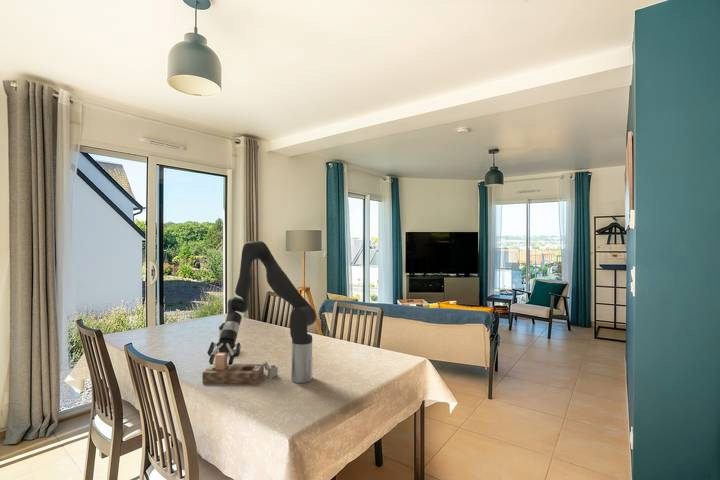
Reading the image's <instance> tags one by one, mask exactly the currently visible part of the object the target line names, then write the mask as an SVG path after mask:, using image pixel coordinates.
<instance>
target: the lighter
mask: <svg viewBox="0 0 720 480" xmlns="http://www.w3.org/2000/svg"><path fill="white" fill-rule="evenodd" d="M262 364H263V365H264V370H266V371H267V377H268V378H269V379H272V378H275V377H278V376H279V375H278V372H279V371H278V370H279V369H278V368H279V366H277V365H276V364H271V365H269V363H268V362H267V361H266V360H264V361H263V362H262Z"/></svg>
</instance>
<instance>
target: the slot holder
mask: <svg viewBox="0 0 720 480" xmlns="http://www.w3.org/2000/svg"><path fill="white" fill-rule="evenodd" d="M264 372H265V367H264V365H263V363H262V364H261V363H260V364H259V363H256V364H255V363H232V364H231V365H229V364H228V363H227V369H226V370H215V362H213V364H212V365H209V366H208V367H207V368H206V369H205V370H203V371H202V381H201V382H205V383H206V382H207V383H209V384H212V383H213V384H254V385H257V384H258V383H259V381H260V380H261V378H262V377H263V376H264V374H265V373H264Z"/></svg>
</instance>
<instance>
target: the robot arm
mask: <svg viewBox="0 0 720 480" xmlns="http://www.w3.org/2000/svg"><path fill="white" fill-rule="evenodd" d="M258 260H259V261H260V262H261V264H263V266H264V267H265V268H264V269H265V274H266V277H265V278H266V282H267V284H268V285H269V287H270V288H271V290H272V291H273V292H274V293H275V294H276V296H278V297H280V298H281V299H282V300H284V301H286V302H287V303H288V304H289V305H291V306H292V308H293V309H292V311H291V313H290V315H289V326H290V327H289V331H290V332H289V333H290V338H291V369H290V371H291V373H290V374H291V375H290V377H291V378H290V379H291V381H292V382H293V383H296V384H297V383H298V384H305V383H310V382H312V379H313V369H314V368H313V366H314V365H313V364H314V361H313V360H314V359H313V336H312V335H311V334H310V333H308V327H310V326H312V325H313V324H315V322H316V321H317V314H316V310H315V309H314V308H313V307H312V305H311V304H310V303H309V302H308V301H307V300H306V299H305V297H303V296H302V294H301V293H300V292H299V290H298V289H297V288H296V287H295V285H294V284H293V283H292V281H291V280H290V278H289V277H288V275H287V274H286V273H285V272H284V270H283V269H282V268H281V265H279V263H278V262H277V260H276V259H275V258H274V255H273V254H272V251H271V250H270V249H269V246H267V244H266V243H265V242H264V241H261V240H253V241H251V240H250V241H247V242H245V243H244V244H243V246H242V250H241V257H240V269H239V275H238V279H237V282H236V287H235V291H234V293H235V295H236V296H230V298H229V299H228V301H227V316H226V319H225V322H224V323H225V324H224V326H223V329H222V332H221V336H220V339H219V340H218V342H216V343H215V342H214V341H212V342H210V345H209V347H208V350H207V353H206V354H207V355H208V356H209V360H208V364H209V366H211V365H212V364H213V363H214V362H215V355H216V354H217V353H219V352H225V353H227V354H228V353H229V354H230V356H229V358H228V359H229V360H228V361H227V364H229V365H231V364H234V360H235V358H238V357H240V353H241V349H242V345H241V343H240V342H236V341H237V337H238V335H239V331H240V325H241V322H242V319H243V316H242V315H241V313H246V312H247V311H248V310H249V306H250V302H249V301H250V300H249V299H250V298H249V297H250V291H251V287H252V285H253V276H252V272H251V266H252V262H253V261H258ZM237 296H238V297H237ZM235 348H236V349H235ZM232 349H233V350H234V349H235V352H234V351H233V350H232Z"/></svg>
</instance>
